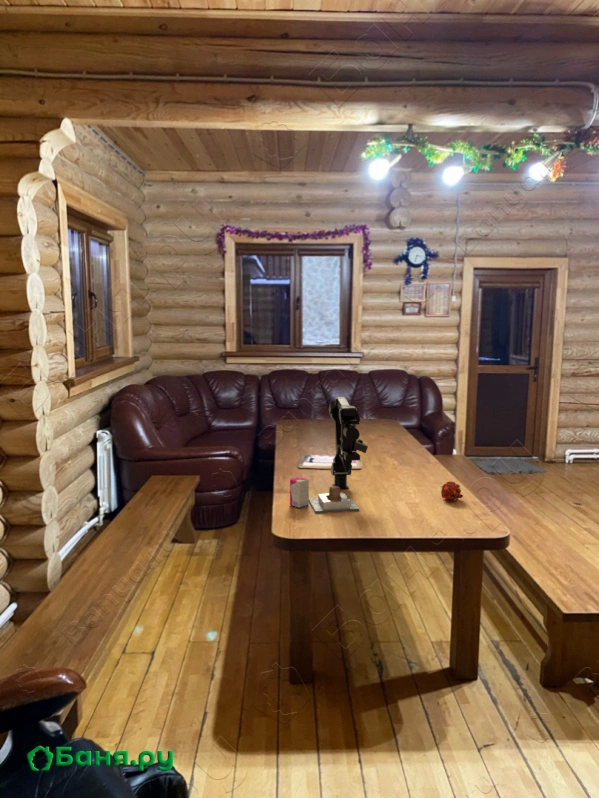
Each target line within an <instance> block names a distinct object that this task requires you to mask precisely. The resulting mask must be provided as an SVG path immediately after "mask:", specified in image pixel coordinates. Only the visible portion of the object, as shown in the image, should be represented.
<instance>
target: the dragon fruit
mask: <svg viewBox="0 0 599 798" xmlns="http://www.w3.org/2000/svg"><path fill="white" fill-rule="evenodd" d="M460 487H461V485H460V484H457V483H456V482H455V481H447V482H445V483H444V484H443V485H442V486H441V490H440V494H441V498H442V499H445V501H446V502H448V503H451V502H452V501H454V502H456V501H457V500H459V499H462V498H463V497H464V494H461V493H462V489H461V488H460Z"/></svg>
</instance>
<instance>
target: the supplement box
mask: <svg viewBox="0 0 599 798" xmlns="http://www.w3.org/2000/svg"><path fill="white" fill-rule="evenodd" d="M309 480H310V479H308V478H305V477H300V476H298V477H295V478H290V479H289V506H290V505H291V506H290V507H292V506H294V507H293V508H295V507H296V508H295V509H298V508H300V509H302V507H303V508H306V507H309V506H310V505H309V504H310V502H309V498H310V495H309V494H310V493H309V492H310V491H309V489H310V487H309V485H310V484H309V483H310V481H309ZM308 505H309V506H308ZM305 506H306V507H305Z"/></svg>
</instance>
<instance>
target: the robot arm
mask: <svg viewBox="0 0 599 798" xmlns="http://www.w3.org/2000/svg"><path fill="white" fill-rule="evenodd" d="M328 414H329V415H330V420H331V421H332V422H333V426H334V427H333V428H334V440H335V441H334V442H335V443H334V444H335V455H334V457H333V459H332V463H331V466H330V474H331V475H332V476H334V477H333V478H334V479H333V480H334V483H333V484H332V483H331V484H332V485H331V486H338V487H340V490H345V489H349V488H350V487H349V486H348V482H347V481H348V476H351V474H352V468H353V465H352V463H353V461H361V454H360V453H359V452H362V453H363V454H366V453H367V451H368V445H367V444H365V443H364V441H363V440H362V439H360V435H361V434H360V431H359V429H358V428H357V426H356V425H360V421H361V418H360V417H361V416H360V412H359V410H358V409H357V408H356V406H355V405H350V403H349V402H348V400H347V397H344V396H337V397H335V398H334V400H333V401H331V402H330V403H329V407H328ZM357 451H359V452H357Z"/></svg>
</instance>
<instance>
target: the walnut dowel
mask: <svg viewBox="0 0 599 798" xmlns="http://www.w3.org/2000/svg"><path fill="white" fill-rule="evenodd" d="M328 489H329V490H328V493H329V500H340V493H341V489H340V487H338V486H332V485H331V486H329V488H328Z"/></svg>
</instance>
